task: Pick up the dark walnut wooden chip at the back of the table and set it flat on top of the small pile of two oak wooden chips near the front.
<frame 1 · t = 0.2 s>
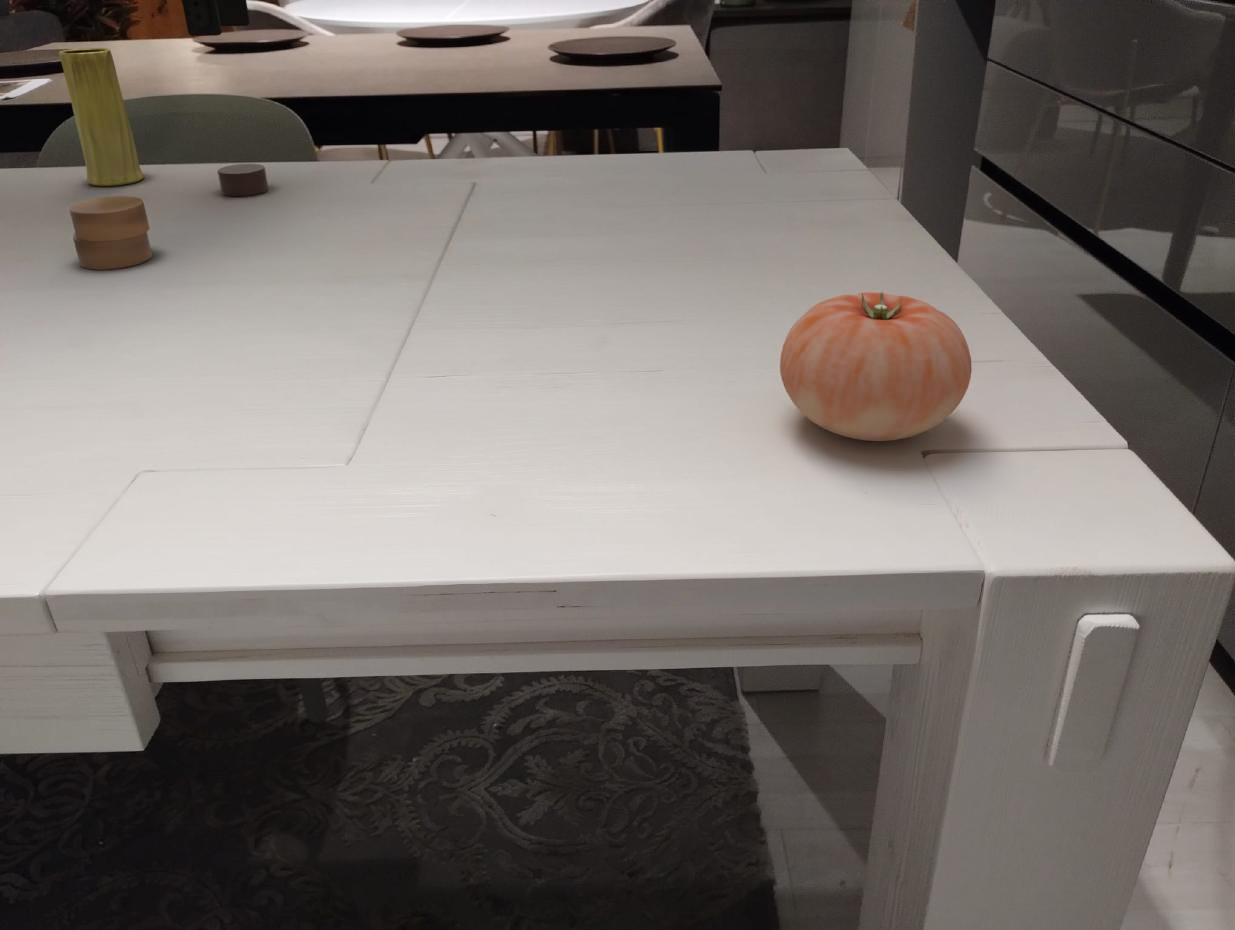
hand: (220, 30, 106), 17 cm above the table, tool pointing down, fingers open, 9 cm apart
pile chip top: (113, 232, 90), point 2 cm above the table, touching pile chip bottom
walnut chip: (245, 191, 114), on the table
tomato: (866, 428, 61), on the table
vase: (117, 182, 119), on the table
pile chip bottom: (116, 259, 92), on the table, touching pile chip top
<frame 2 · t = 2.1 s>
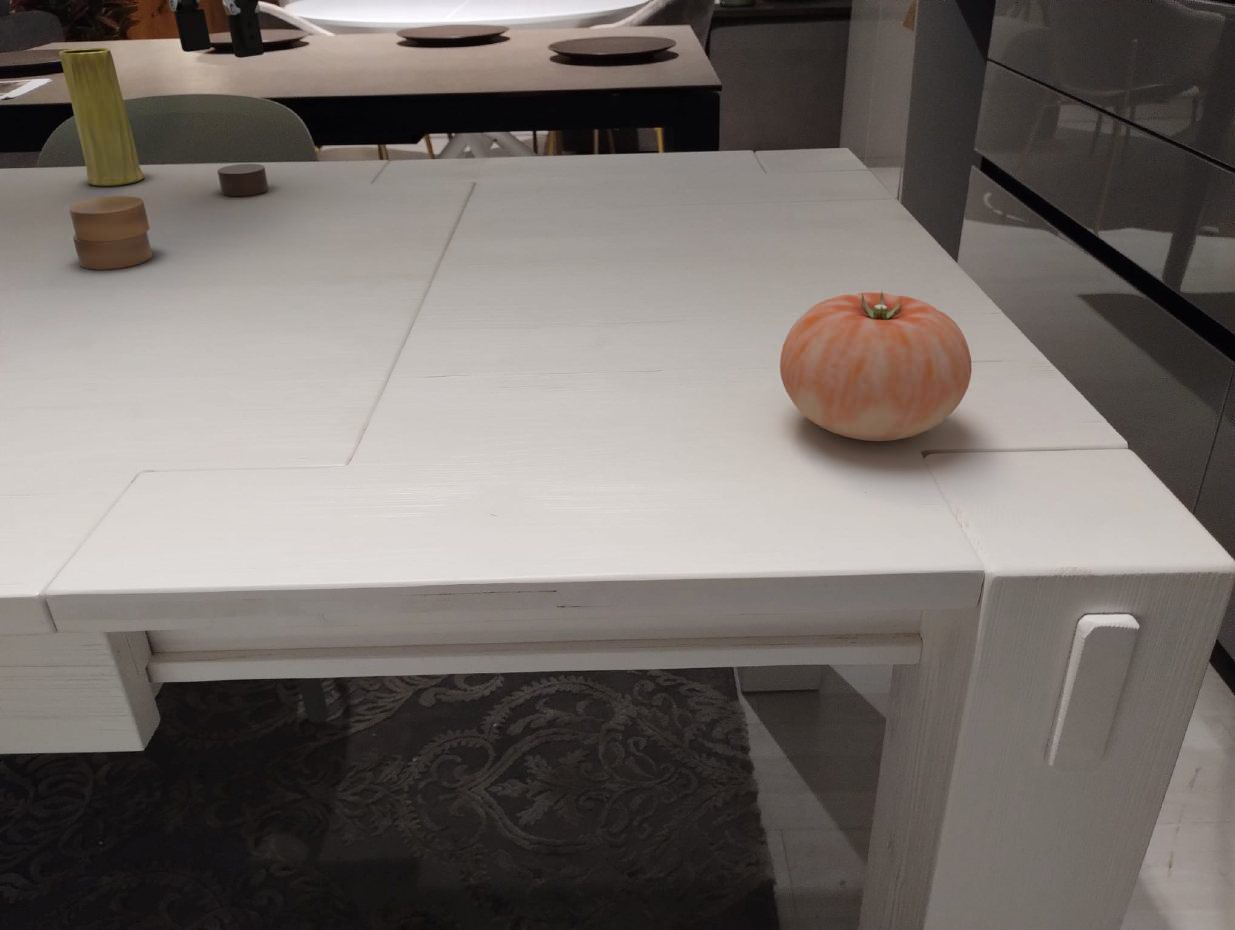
hand: (223, 53, 107), 14 cm above the table, tool pointing down, fingers open, 9 cm apart
nothing on the table moved.
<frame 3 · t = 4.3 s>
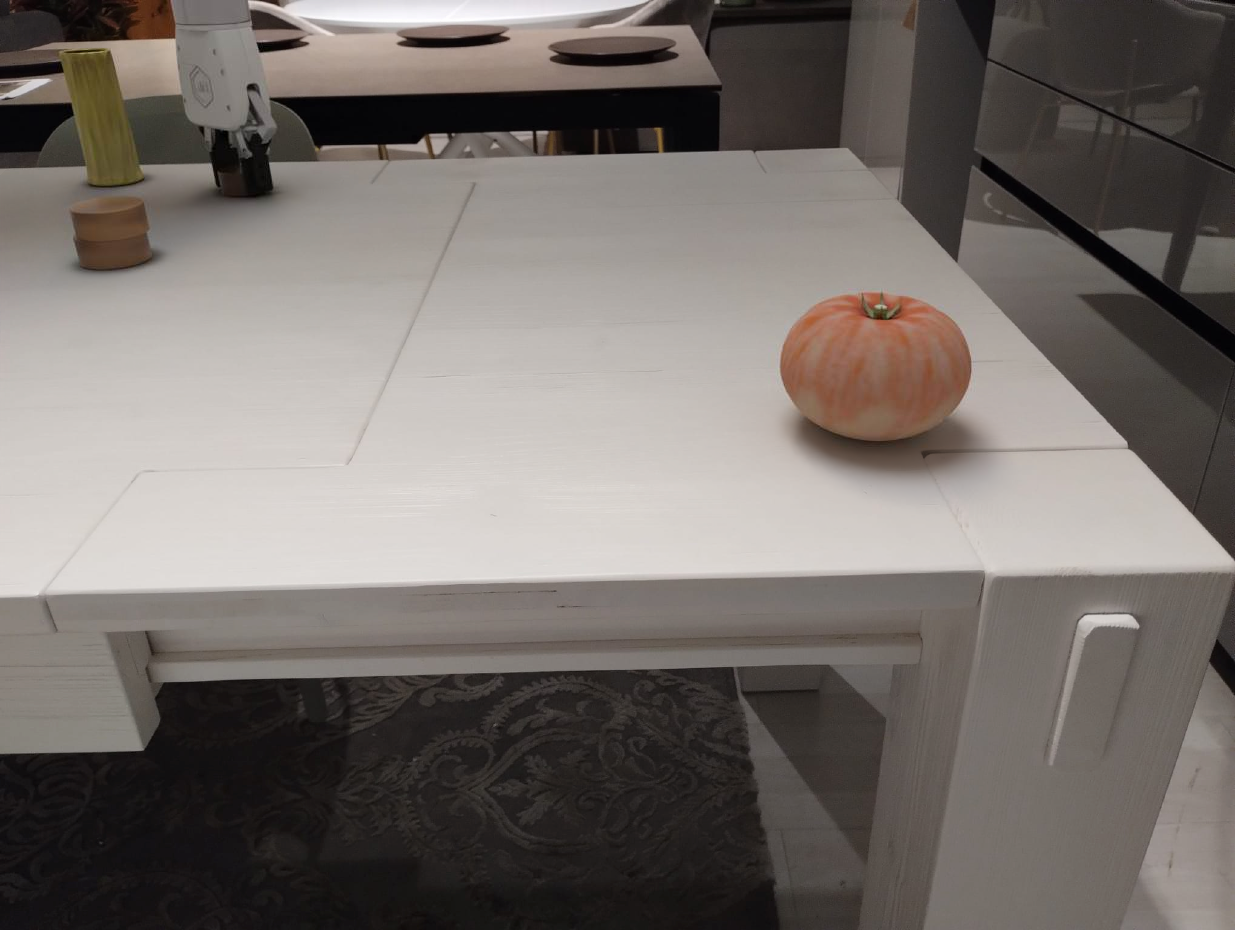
hand: (244, 187, 114), 0 cm above the table, tool pointing down, fingers closed on walnut chip, 5 cm apart
walnut chip: (245, 191, 114), on the table, touching gripper
everything else where it was.
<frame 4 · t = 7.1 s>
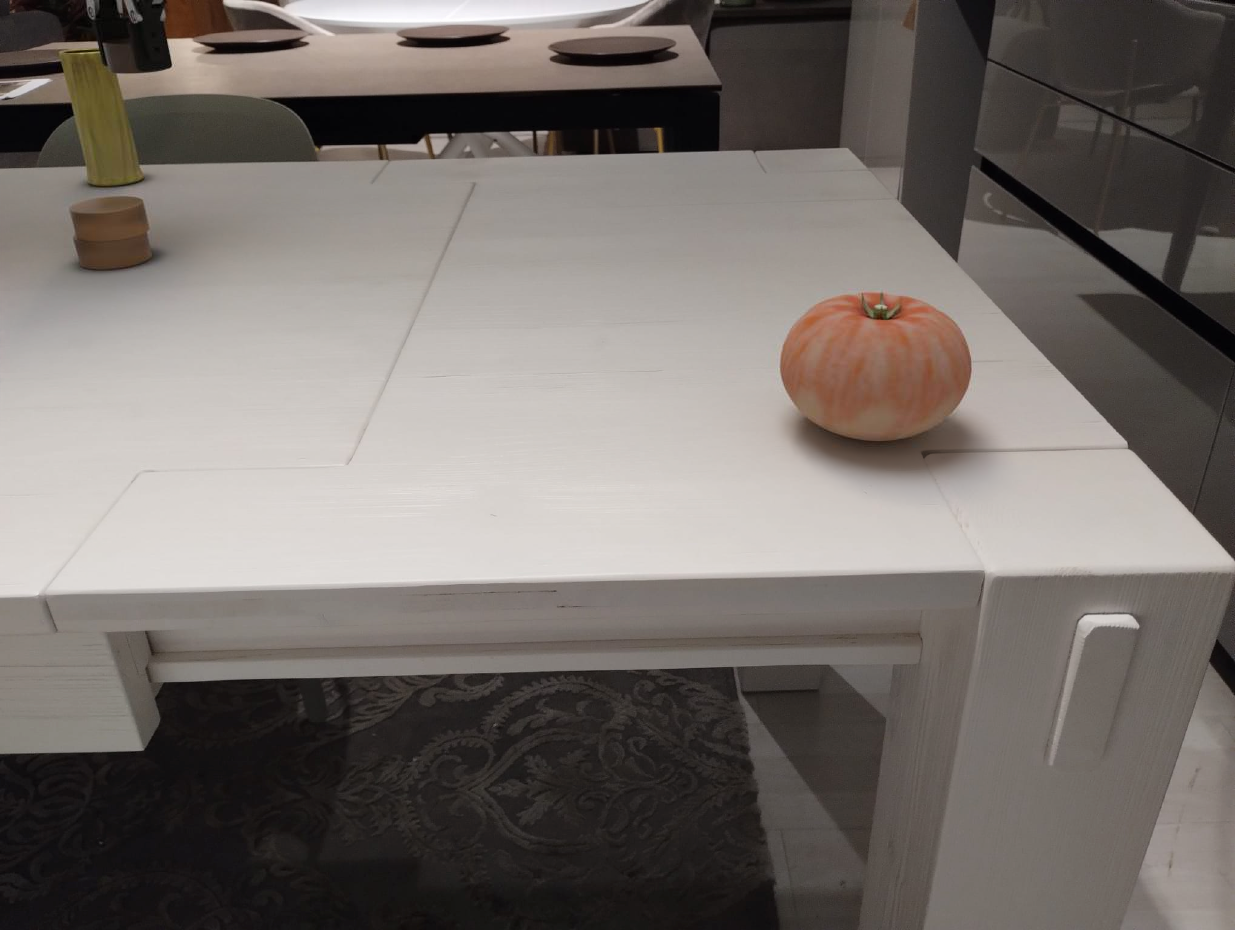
hand: (137, 65, 93), 15 cm above the table, tool pointing down, fingers closed on walnut chip, 5 cm apart
walnut chip: (138, 70, 94), point 15 cm above the table, touching gripper
everything else where it was.
when the fingers open (5 cm above the table, at t = 10.1 s): walnut chip stays where it is, resting on pile chip top.
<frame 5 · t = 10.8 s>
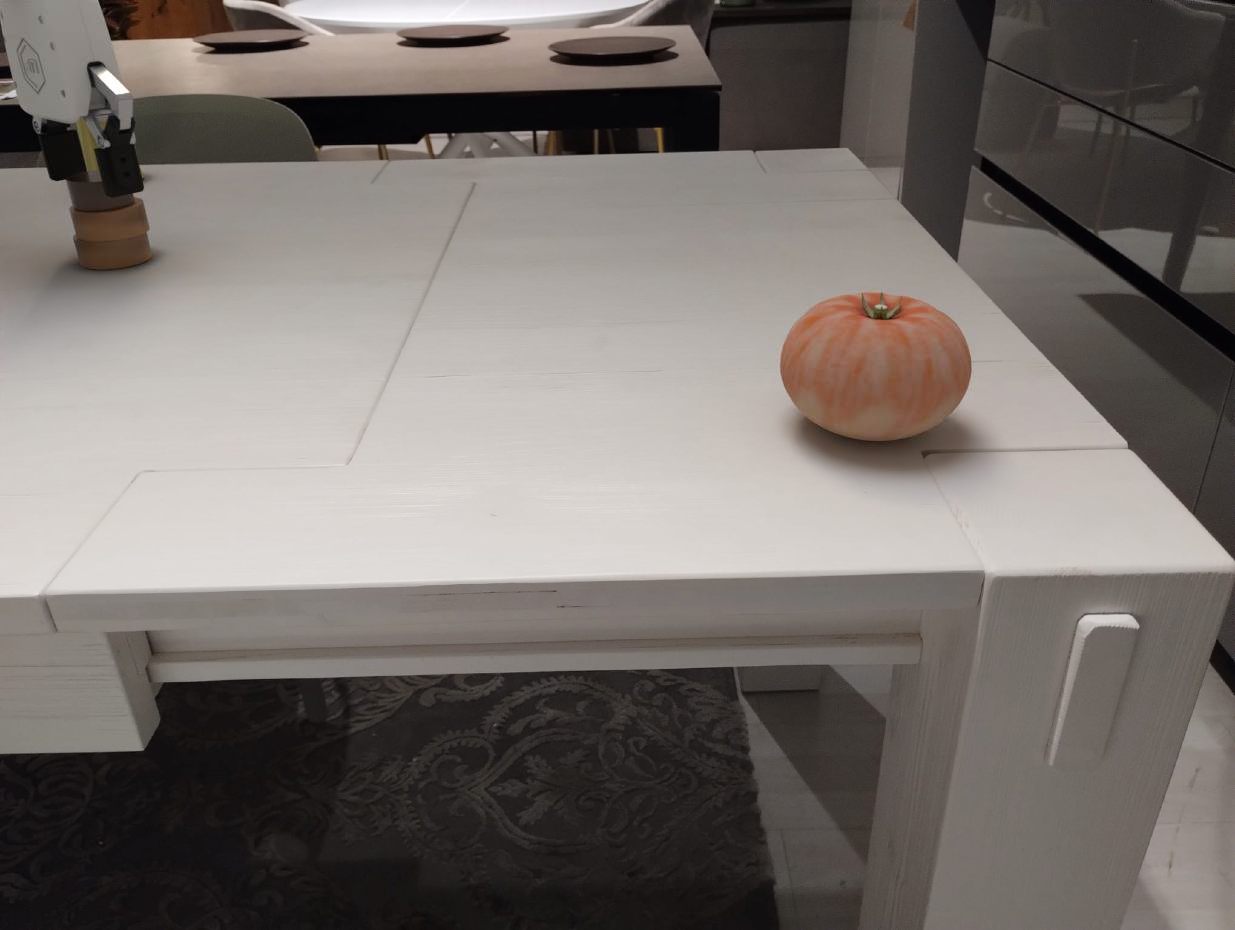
hand: (96, 185, 89), 7 cm above the table, tool pointing down, fingers open, 9 cm apart
pile chip top: (113, 232, 90), point 2 cm above the table, touching pile chip bottom, walnut chip
walnut chip: (104, 204, 89), point 5 cm above the table, touching pile chip top
everything else where it was.
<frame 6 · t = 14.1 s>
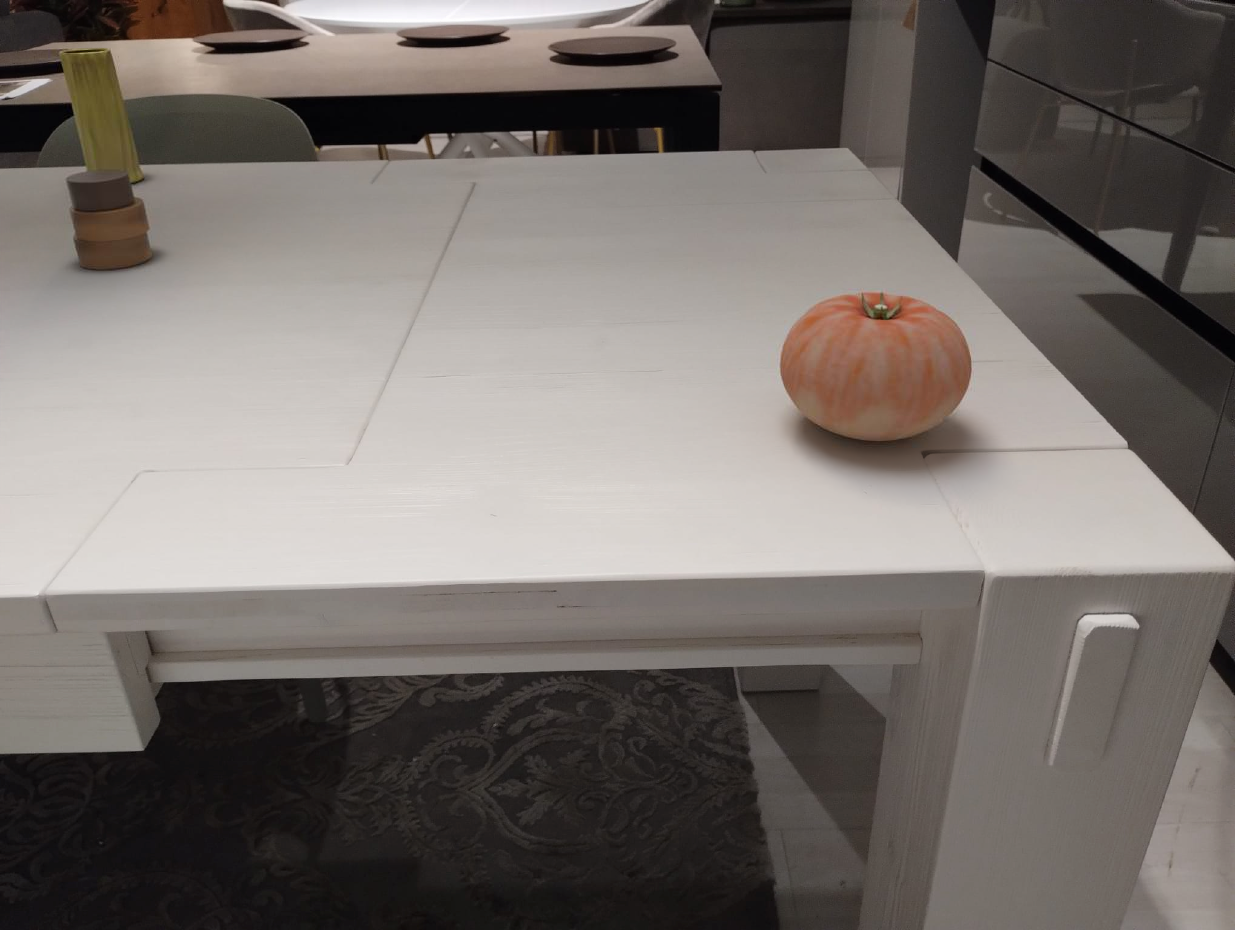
nothing on the table moved.
at the end: walnut chip 0.1 cm off-centre on the pile chip bottom, point 5.0 cm above the pile chip bottom's base; walnut chip tilted 0°; the gripper is holding nothing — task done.
